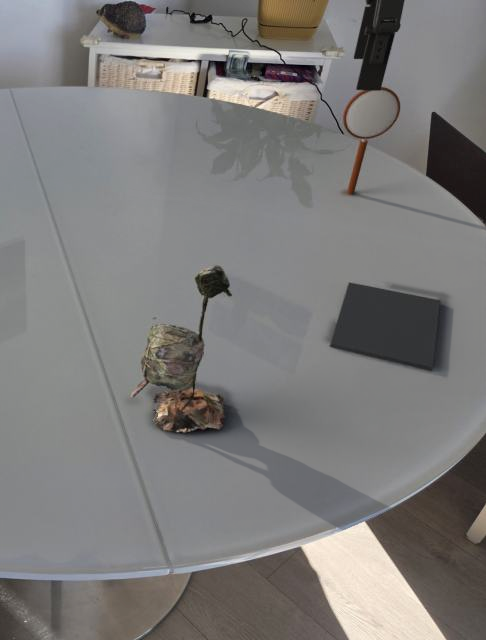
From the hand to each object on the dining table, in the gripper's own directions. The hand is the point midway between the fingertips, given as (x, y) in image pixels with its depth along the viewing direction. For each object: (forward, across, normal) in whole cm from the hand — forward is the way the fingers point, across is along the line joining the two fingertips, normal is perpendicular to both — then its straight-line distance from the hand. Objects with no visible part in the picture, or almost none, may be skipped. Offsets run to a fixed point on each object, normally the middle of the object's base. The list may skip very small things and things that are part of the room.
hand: (365, 73), depth 84 cm
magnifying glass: (+29, -22, +4) cm, 36 cm away
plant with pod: (+28, +41, -16) cm, 52 cm away
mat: (+28, +16, +8) cm, 34 cm away
